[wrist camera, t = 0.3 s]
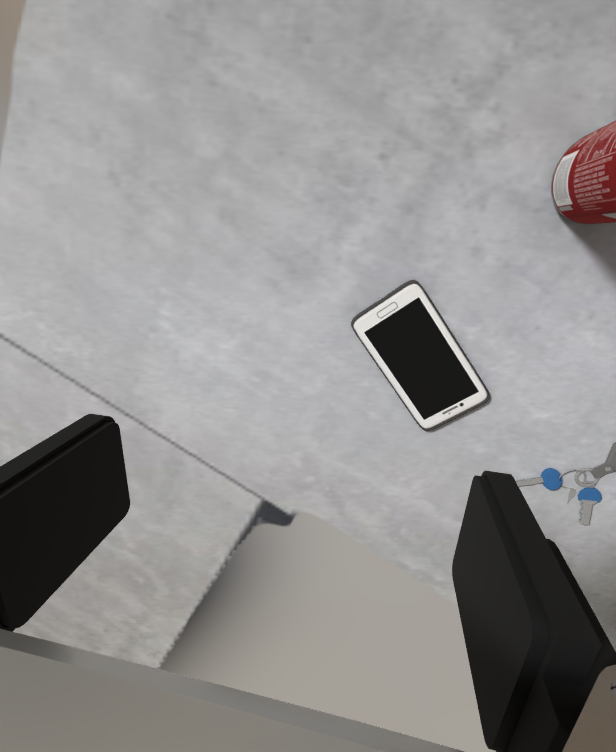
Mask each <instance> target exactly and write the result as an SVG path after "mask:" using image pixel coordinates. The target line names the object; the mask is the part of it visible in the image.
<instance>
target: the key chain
mask: <svg viewBox="0 0 616 752" xmlns="http://www.w3.org/2000/svg"><path fill="white" fill-rule="evenodd" d="M574 470H576V469H573V470H568V471H566V472H564V473H567V472H569V471H574ZM576 471H578V472H577V473H576V475H575V481H576V483H577V484H578V485H579V486H583V487H589V488H584V489H583V490H581V491H580V492H579V494H578V499H579V500H580V501H581V502H582V503H581V506H582V507H583V509H581V510H580V513H582V514H580V516H581V520H580V519H579V522H581V524H583V525H589V523H590V517H591V512H592V506H593V505H594V504H595V503H597V502H600V500H601V498H602V497H601V493H600V492H599V491H598V490H597V489H595V488H593V487H595V484H596V483H597V482H598V481H599V478H600V477H602V476H604V475H605V474H608V473H611V472H616V443H614V444H613V446H612V448H611V450H610V453H609V455H608V457H607V460H606V462H605V463H604V464H602V465H600V466H598V467H595V468H593V469H592V468H584V469H581V470H576ZM584 471H590V472H591V473H592V474H593V476H594V477H595V478H596V479H595V480H594V482H589V481H586V482H585V480H586V474H585V473H584ZM564 473H562V474H561V475H560V473H559V472H558V471H557V470H555V469H553V468H548V469H545V470H544V471H543V472H542V475H541V477H540V478H533V479H530V480H521V481H517V482H516V483H517V485H518V487H519V486H524V485H532V484H538V483H543V485H544V486H545V487H546V488H547V489H549V490H556V489H558V488H559V487H560V486H562V485H561V484H562V477H561V476H562V475H563V474H564ZM581 473H584V476H585V478H584V481H583V482H582V483H583V484H582V483H581V482H579V480H578V476H579V475H580V474H581ZM558 476H559V477H558ZM585 483H590V484H585ZM590 486H591V487H590ZM562 487H563V488H567V487H564V486H562ZM575 494H576V491H575V490H574V489H572V488H570V493H569V498H568V503H569V502H570V500H571V499H572V498H573V496H574V495H575ZM568 503H567V504H568Z"/></svg>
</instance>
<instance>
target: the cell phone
mask: <svg viewBox="0 0 616 752" xmlns="http://www.w3.org/2000/svg"><path fill="white" fill-rule="evenodd" d="M351 326H352V328H353V330H354V332H355V334H356V335H357V337H358V338H359V340H360V341H361V342H362V344H363V345H364V347H365V348H366V350H367V351H368V353H369V354H370V356H371V357H372V358H373V360H374V361H375V360H376V361H375V363H376V364H377V366H378V367H379V369H380V370H381V372H382V373H383V375H384V376H385V377H386V379H387V380H388V382H389V383H390V385H391V386H392V388H393V389H394V391H395V392H396V393H397V395H398V396H399V398H400V399H401V401H402V402H403V404H404V405H405V406H406V408H407V409H408V411H409V412H410V414H411V415H412V417H413V418H414V420H415V421H416V422H417V424H418V425H419V426H420V427H421V428H422V429H423V430H425V431H430V430H433V429H435V428H437V427H439V426H441V425H443V424H445V423H447V422H449V421H451V420H453V419H455V418H457V417H459V416H461V415H463V414H465V413H467V412H469V411H471V410H473V409H475V408H477V407H479V406H481V405H483V404H484V403H486V402H487V401H488V400H489V393H488V391H487V389H486V387H485V386H484V384H483V382H482V381H481V379H480V377H479V376H478V374H477V373H476V371H475V370H474V368H473V366H472V365H471V363H470V362H469V360H468V358H467V357H466V355H465V354H464V352H463V350H462V349H461V347H460V346H459V344H458V343H457V341H456V339H455V338H454V336H453V335H452V333H451V332H450V330H449V328H448V327H447V325H446V324H445V322H444V321H443V319H442V317H441V316H440V314H439V313H438V311H437V310H436V308H435V306H434V305H433V303H432V302H431V300H430V299H429V297H428V295H427V294H426V292H425V291H424V289H423V288H422V286H421V285H420V284H419V283H418V282H417V281H415V280H410V281H408V282H406V283H404V284H403V285H401V286H400V287H398V288H397V289H395V290H394V291H392V292H391V293H389V294H388V295H387V296H385V297H384V298H382V299H381V300H379V301H378V302H376V303H374V304H373V305H371V306H370V307H368V308H367V309H365V310H364V311H362V312H361V313H359V314H358V315H356V316H355V317H354V318H353V320H352V322H351Z"/></svg>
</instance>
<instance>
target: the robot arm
mask: <svg viewBox="0 0 616 752" xmlns="http://www.w3.org/2000/svg"><path fill="white" fill-rule="evenodd" d="M129 507H130V498H129V491H128V484H127V477H126V470H125V463H124V456H123V449H122V442H121V435H120V428H119V425H118V424H117V423H115V421H114V419H113V418H112V417H110V416H103V415H96V414H88V415H86V416H84V417H82V418H81V419H79V420H77V421H76V422H74V423H72V424H71V425H69V426H67V427H66V428H64V429H62V430H61V431H59V432H57V433H56V434H54V435H52V436H51V437H49V438H47V439H46V440H44V441H42V442H41V443H39V444H37V445H36V446H34V447H32V448H31V449H29V450H27V451H26V452H24V453H22V454H21V455H19V456H17V457H16V458H14V459H12V460H11V461H9V462H7V463H6V464H4V465H2V466H1V467H0V752H463V751H460V750H457V749H454V748H450V747H446V746H443V745H439V744H436V743H432V742H429V741H425V740H422V739H418V738H415V737H411V736H408V735H404V734H401V733H397V732H394V731H390V730H387V729H383V728H380V727H376V726H372V725H369V724H366V723H362V722H359V721H355V720H351V719H347V718H344V717H339V716H336V715H332V714H328V713H325V712H321V711H317V710H313V709H309V708H306V707H301V706H298V705H294V704H290V703H287V702H283V701H279V700H275V699H271V698H268V697H264V696H260V695H256V694H252V693H249V692H245V691H241V690H237V689H234V688H230V687H226V686H222V685H218V684H214V683H211V682H207V681H203V680H199V679H195V678H191V677H187V676H184V675H180V674H175V673H172V672H168V671H164V670H160V669H156V668H153V667H149V666H145V665H141V664H137V663H133V662H129V661H125V660H121V659H118V658H114V657H110V656H106V655H102V654H98V653H94V652H90V651H86V650H82V649H78V648H74V647H71V646H67V645H63V644H59V643H55V642H51V641H47V640H43V639H39V638H35V637H31V636H27V635H23V634H19V633H15V632H13V631H14V630H15V628H18V627H21V626H22V625H24V624H25V623H26V622H27V621H28V620H29V619H30V618H31V617H32V616H33V615H34V614H35V612H36V611H37V610H38V609H39V608H40V607H41V606H42V605H43V604H44V603H45V602H46V601H47V600H48V598H49V597H50V596H51V595H52V594H53V593H54V592H55V591H56V590H57V589H58V588H59V587H60V586H61V585H62V583H63V582H64V581H65V580H66V579H67V578H68V577H69V576H70V575H71V574H72V573H73V572H74V571H75V569H76V568H77V567H78V566H79V565H80V564H81V563H82V562H83V561H84V560H85V559H86V558H87V557H88V556H89V554H90V553H91V552H92V551H93V550H94V549H95V548H96V547H97V546H98V545H99V544H100V543H101V542H102V540H103V539H104V538H105V537H106V536H107V535H108V534H109V533H110V532H111V531H112V530H113V529H114V528H115V527H116V525H117V524H118V523H119V522H120V521H121V520H122V519H123V518H124V517H125V516H126V514H127V512H128V510H129ZM452 576H453V582H454V587H455V592H456V597H457V602H458V607H459V612H460V618H461V622H462V628H463V633H464V638H465V643H466V648H467V653H468V658H469V663H470V668H471V674H472V679H473V684H474V689H475V694H476V699H477V704H478V709H479V714H480V720H481V724H482V729H483V735H484V739H485V743H486V745H487V747H488V748H489V749H492V750H496V752H616V652H615V650H614V648H613V646H612V645H611V643H610V641H609V639H608V637H607V636H606V634H605V632H604V630H603V628H602V627H601V625H600V623H599V621H598V619H597V618H596V616H595V614H594V612H593V610H592V608H591V607H590V605H589V603H588V601H587V599H586V598H585V596H584V594H583V592H582V590H581V589H580V587H579V585H578V583H577V581H576V580H575V578H574V576H573V574H572V572H571V570H570V569H569V567H568V565H567V563H566V561H565V560H564V558H563V556H562V554H561V552H560V551H559V549H558V547H557V546H556V544H555V543H554V542H553V541H551V540H550V539H546V538H545V536H544V534H543V532H542V530H541V529H540V527H539V525H538V523H537V521H536V519H535V517H534V515H533V513H532V512H531V510H530V508H529V506H528V504H527V502H526V500H525V498H524V496H523V495H522V493H521V491H520V489H519V487H518V485H517V483H516V481H515V479H514V478H513V476H512V475H510V474H505V473H498V472H491V471H484V472H483V474H482V476H474V478H473V481H472V485H471V489H470V493H469V497H468V501H467V505H466V510H465V514H464V518H463V522H462V526H461V530H460V534H459V538H458V543H457V547H456V551H455V555H454V559H453V565H452Z"/></svg>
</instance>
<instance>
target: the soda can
mask: <svg viewBox="0 0 616 752" xmlns="http://www.w3.org/2000/svg"><path fill="white" fill-rule="evenodd" d="M551 194H552V199H553V202H554V204H555V206H556V208H557V209H558V211H559V212H560V213H561V214H562V215H563V216H564V217H566V218H567V219H569V220H571V221H574V222H577V223H582V224H595V223H611V222H616V121H614V122H612V123H610V124H608V125H606V126H604V127H602V128H600V129H598V130H596V131H594V132H592V133H590V134H588V135H586V136H585V137H583V138H581V139H580V140H578V141H577V142H576V143H574V144H573V145H572V146H571V147H570V148H569V149H568V150H567V151H566V152H565V154H564V155H563V156H562V158H561V159H560V161H559V162H558V164H557V166H556V168H555V171H554V174H553V177H552V183H551Z"/></svg>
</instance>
